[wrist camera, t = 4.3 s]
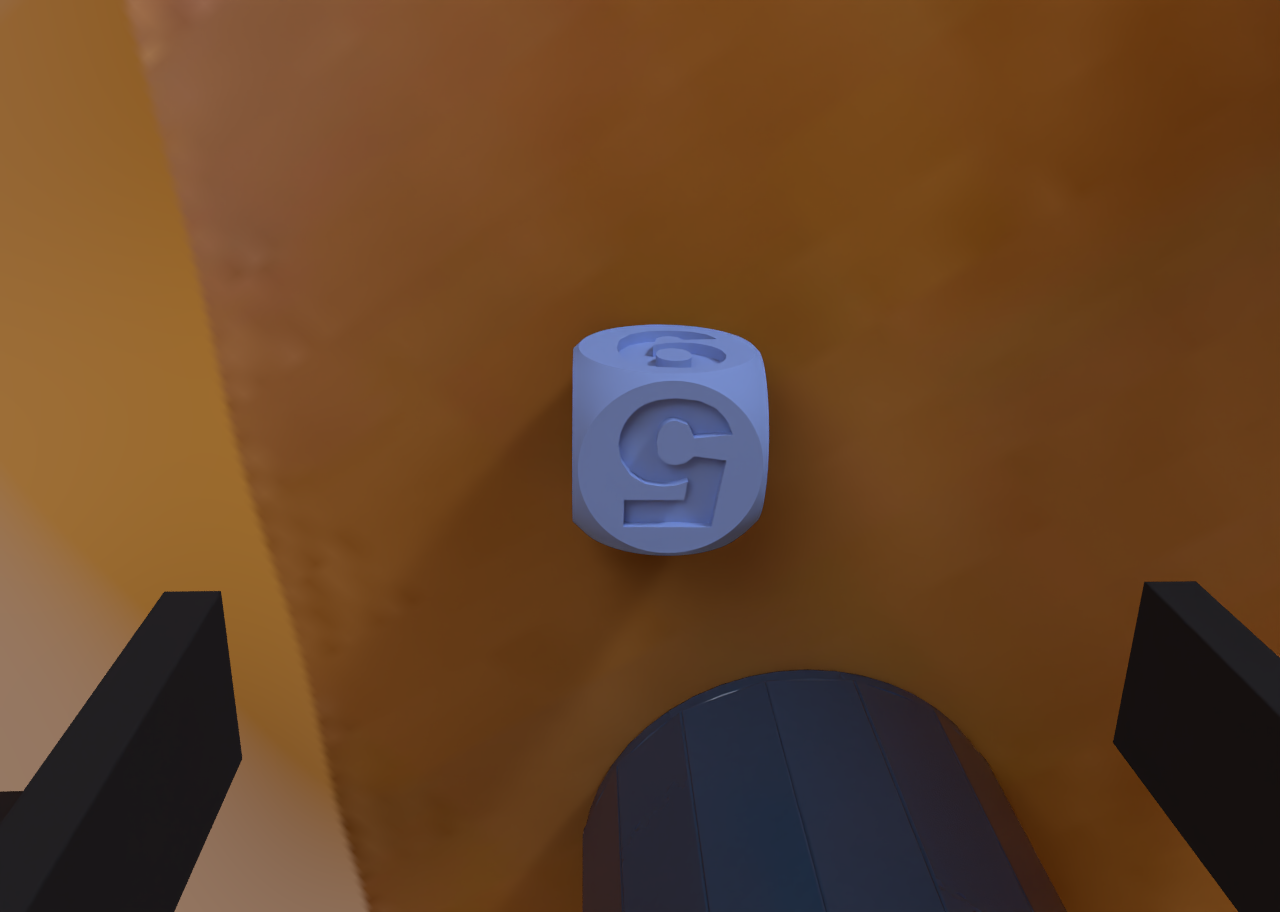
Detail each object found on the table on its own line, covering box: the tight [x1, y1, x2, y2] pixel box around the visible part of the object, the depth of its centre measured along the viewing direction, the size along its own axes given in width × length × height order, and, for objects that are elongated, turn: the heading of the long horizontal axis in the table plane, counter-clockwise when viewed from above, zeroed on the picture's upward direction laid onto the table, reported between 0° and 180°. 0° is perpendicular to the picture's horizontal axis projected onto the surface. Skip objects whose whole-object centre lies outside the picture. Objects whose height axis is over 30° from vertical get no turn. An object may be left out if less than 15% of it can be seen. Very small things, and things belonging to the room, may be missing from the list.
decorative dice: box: [572, 325, 769, 556], centre depth 25 cm, size 4×4×4 cm
